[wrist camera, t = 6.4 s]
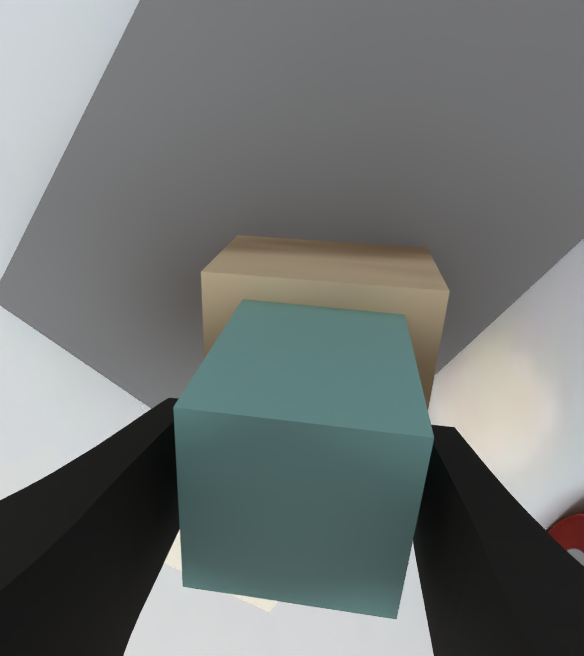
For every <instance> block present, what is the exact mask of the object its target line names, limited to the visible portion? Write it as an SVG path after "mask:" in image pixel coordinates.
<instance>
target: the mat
mask: <svg viewBox="0 0 584 656" xmlns="http://www.w3.org/2000/svg"><path fill="white" fill-rule="evenodd" d="M237 235H245V236H259V237H273V238H288V239H302V240H316V241H331V242H345V243H359V244H374V245H388V246H402V247H417V248H428V250H429V252H430V254H431V256H432V258H433V260H434V262H435V263H436V265H437V267H438V269H439V271H440V273H441V275H442V277H443V279H444V281H445V283H446V285H447V287H448V289H449V291H450V292H449V298H448V303H447V309H446V314H445V320H444V325H443V331H442V336H441V342H440V347H439V352H438V358H437V363H436V369H435V374H436V373H438V372H439V371H440V370H441V369H442V368H443V367H444V366H445V365H446V364H447V363H448V362H449V361H451V360H452V359H453V358H454V357H455V356H456V355H457V354H458V353H459V352H460V351H461V350H463V349H464V348H465V347H466V346H467V345H468V344H469V343H470V342H471V341H472V340H473V339H474V338H476V337H477V336H478V335H479V334H480V333H481V332H482V331H483V330H484V329H485V328H486V327H487V326H489V325H490V324H491V323H492V322H493V321H494V320H495V319H496V318H497V317H498V316H499V315H500V314H502V313H503V312H504V311H505V310H506V309H507V308H508V307H509V306H510V305H511V304H512V303H514V302H515V301H516V300H517V299H518V298H519V297H520V296H521V295H522V294H523V293H524V292H525V291H527V290H528V289H529V288H530V287H531V286H532V285H533V284H534V283H535V282H536V281H537V280H538V279H540V278H541V277H542V276H543V275H544V274H545V273H546V272H547V271H548V270H549V269H550V268H552V267H553V266H554V265H555V264H556V263H557V262H558V261H559V260H560V259H561V258H562V257H563V256H565V255H566V254H567V253H568V252H569V251H570V250H571V249H572V248H573V247H574V246H575V245H576V244H578V243H579V242H580V241H581V240H582V239H583V238H584V0H140V1H139V3H138V5H137V7H136V10H135V12H134V14H133V16H132V18H131V20H130V22H129V24H128V26H127V28H126V30H125V32H124V34H123V36H122V38H121V40H120V42H119V44H118V46H117V48H116V50H115V52H114V54H113V56H112V58H111V60H110V62H109V64H108V66H107V68H106V70H105V72H104V74H103V76H102V78H101V80H100V82H99V84H98V86H97V88H96V90H95V92H94V94H93V96H92V98H91V100H90V102H89V104H88V106H87V108H86V110H85V112H84V114H83V116H82V118H81V120H80V122H79V124H78V126H77V128H76V130H75V132H74V134H73V136H72V138H71V140H70V142H69V144H68V146H67V148H66V150H65V152H64V154H63V156H62V158H61V160H60V162H59V164H58V166H57V168H56V170H55V172H54V174H53V176H52V178H51V180H50V182H49V184H48V186H47V188H46V190H45V192H44V194H43V196H42V198H41V200H40V203H39V205H38V207H37V209H36V211H35V213H34V215H33V217H32V219H31V221H30V223H29V225H28V227H27V229H26V231H25V233H24V235H23V237H22V239H21V241H20V243H19V245H18V247H17V249H16V251H15V253H14V255H13V257H12V259H11V261H10V263H9V265H8V267H7V269H6V271H5V273H4V275H3V277H2V279H1V281H0V306H2V307H3V308H5V309H6V310H8V311H9V312H11V313H12V314H14V315H15V316H17V317H18V318H19V319H21V320H22V321H24V322H25V323H27V324H28V325H30V326H31V327H33V328H34V329H36V330H37V331H39V332H40V333H41V334H43V335H44V336H46V337H47V338H49V339H50V340H52V341H53V342H55V343H56V344H58V345H59V346H61V347H62V348H63V349H65V350H66V351H68V352H69V353H71V354H72V355H74V356H75V357H77V358H78V359H80V360H81V361H83V362H84V363H85V364H87V365H88V366H90V367H91V368H93V369H94V370H96V371H97V372H99V373H100V374H102V375H103V376H105V377H106V378H107V379H109V380H110V381H112V382H113V383H115V384H116V385H118V386H119V387H121V388H122V389H124V390H125V391H127V392H128V393H129V394H131V395H132V396H134V397H135V398H137V399H138V400H140V401H141V402H143V403H144V404H146V405H147V406H149V407H150V408H151V409H152V408H153V407H155V406H156V405H158V404H159V403H161V402H162V401H164V400H166V399H167V398H178V399H179V398H180V396H181V395H182V393H183V391H184V390H185V388H186V387H187V385H188V384H189V382H190V380H191V379H192V377H193V376H194V374H195V373H196V371H197V370H198V368H199V366H200V365H201V363H202V362H203V360H204V339H203V313H202V287H201V271H202V270H203V269H204V268H205V267H206V266H207V265H208V264H209V263H210V262H211V261H212V260H213V259H214V258H215V257H216V256H217V255H218V254H219V253H220V252H221V251H222V250H223V249H224V248H225V247H226V246H227V245H228V244H229V243H230V242H231V241H232V240H233V239H234V238H235V237H236V236H237ZM435 374H434V375H435Z"/></svg>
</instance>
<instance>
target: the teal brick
mask: <svg viewBox="0 0 584 656" xmlns="http://www.w3.org/2000/svg"><path fill="white" fill-rule="evenodd" d="M173 410H174V429H175V448H176V467H177V486H178V504H179V523H180V542H181V561H182V580H183V587H189V588H195V589H202V590H209V591H215V592H222V593H228V594H235V595H241V596H248V597H254V598H261V599H268V600H274V601H281V602H287V603H294V604H300V605H307V606H313V607H320V608H326V609H333V610H340V611H346V612H353V613H359V614H366V615H372V616H379V617H385V618H392V619H397V614H398V609H399V604H400V600H401V595H402V590H403V585H404V580H405V576H406V571H407V566H408V561H409V556H410V552H411V547H412V542H413V537H414V532H415V528H416V523H417V518H418V513H419V508H420V504H421V499H422V494H423V489H424V484H425V480H426V475H427V470H428V465H429V460H430V455H431V451H432V446H433V441H434V435H433V431H432V427H431V423H430V418H429V414H428V410H427V406H426V402H425V397H424V393H423V389H422V385H421V381H420V377H419V372H418V368H417V364H416V360H415V356H414V351H413V347H412V343H411V339H410V335H409V331H408V326H407V322H406V318H405V315H404V314H394V313H383V312H373V311H362V310H351V309H341V308H330V307H320V306H309V305H299V304H288V303H278V302H267V301H257V300H246V299H242V301H241V303H240V304H239V306H238V307H237V309H236V310H235V312H234V313H233V315H232V317H231V318H230V320H229V321H228V323H227V324H226V326H225V328H224V329H223V331H222V332H221V334H220V335H219V337H218V338H217V340H216V342H215V343H214V345H213V346H212V348H211V349H210V351H209V352H208V354H207V356H206V357H205V359H204V360H203V362H202V363H201V365H200V366H199V368H198V370H197V371H196V373H195V374H194V376H193V377H192V379H191V380H190V382H189V384H188V385H187V387H186V388H185V390H184V391H183V393H182V395H181V396H180V398H179V399H178V401H177V402H176V404H175V405H174V407H173Z"/></svg>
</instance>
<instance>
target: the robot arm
mask: <svg viewBox="0 0 584 656" xmlns="http://www.w3.org/2000/svg"><path fill="white" fill-rule="evenodd" d="M177 401H178V398H167V399H166V400H164V401H162V402H161V403H159V404H158V405H156V406H155V407H153V408H152V409H151V410H149V411H148V412H146V413H145V414H143V415H142V416H140V417H139V418H137V419H136V420H135V421H133V422H132V423H130V424H129V425H127V426H126V427H124V428H123V429H121V430H120V431H118V432H117V433H115V434H114V435H112V436H111V437H109V438H108V439H106V440H105V441H103V442H102V443H100V444H99V445H97V446H96V447H94V448H92V449H91V450H89V451H88V452H86V453H84V454H83V455H81V456H79V457H78V458H76V459H74V460H73V461H71V462H70V463H68V464H66V465H65V466H63V467H61V468H60V469H58V470H56V471H55V472H53V473H51V474H49V475H48V476H46V477H44V478H42V479H41V480H39V481H37V482H35V483H33V484H31V485H29V486H28V487H26V488H24V489H22V490H20V491H18V492H16V493H14V494H12V495H10V496H8V497H6V498H4V499H2V500H0V656H123V655H124V652H125V649H126V646H127V644H128V641H129V638H130V636H131V633H132V631H133V629H134V626H135V624H136V622H137V619H138V617H139V615H140V612H141V610H142V608H143V606H144V604H145V602H146V600H147V598H148V596H149V593H150V591H151V589H152V587H153V585H154V583H155V581H156V579H157V577H158V574H159V572H160V570H161V568H162V566H163V564H164V562H165V560H166V558H167V555H168V553H169V551H170V549H171V547H172V545H173V543H174V540H175V538H176V536H177V534H178V532H179V530H180V523H179V504H178V486H177V467H176V448H175V429H174V410H173V407H174V405H175V404H176V402H177ZM431 427H432V431H433V435H434V441H433V446H432V451H431V455H430V460H429V465H428V470H427V475H426V480H425V484H424V489H423V494H422V499H421V504H420V508H419V513H418V518H417V523H416V528H415V532H414V537H413V544H414V550H415V556H416V562H417V567H418V573H419V578H420V584H421V589H422V594H423V600H424V605H425V610H426V616H427V621H428V626H429V632H430V637H431V642H432V648H433V653H434V656H584V566H583V565H582V564H581V563H580V562H579V561H577V560H576V559H575V558H574V557H573V556H572V555H571V554H570V553H569V552H567V551H566V550H565V549H564V548H563V547H562V546H561V545H560V544H559V543H558V542H557V541H556V540H555V539H554V538H553V537H552V536H551V535H550V534H549V533H548V532H547V531H546V530H545V529H544V528H543V527H542V526H541V525H540V524H539V523H538V522H537V521H536V520H535V519H534V518H533V517H532V516H531V515H530V514H529V513H528V512H527V511H526V510H525V509H524V508H523V507H522V506H521V505H520V504H519V503H518V501H517V500H516V499H515V498H514V497H513V496H512V495H511V494H510V493H509V492H508V490H507V489H506V488H505V487H504V486H503V485H502V484H501V483H500V481H499V480H498V479H497V478H496V477H495V476H494V475H493V473H492V472H491V471H490V470H489V469H488V467H487V466H486V465H485V464H484V463H483V461H482V460H481V459H480V458H479V457H478V455H477V454H476V453H475V452H474V451H473V449H472V448H471V447H470V446H469V444H468V443H467V442H466V441H465V440H464V438H463V437H462V436H461V435H460V433H459V432H458V431H457V430H456V429H455V428H454V427H447V426H438V425H431Z"/></svg>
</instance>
